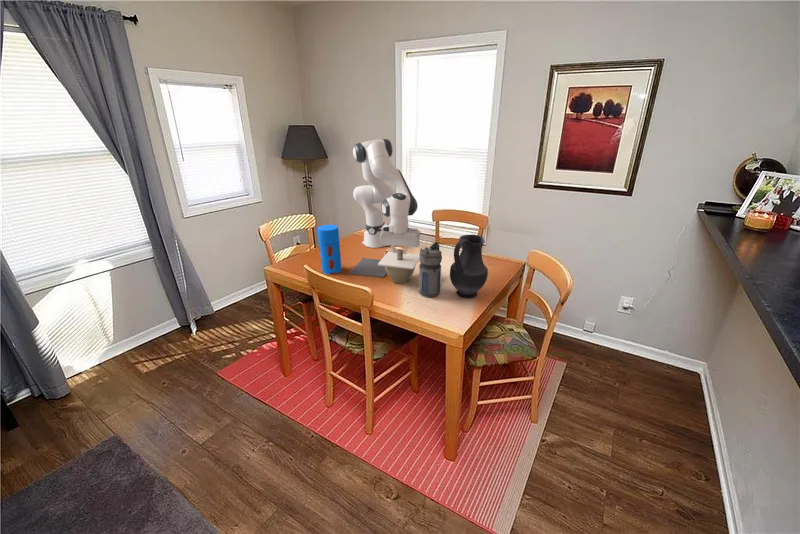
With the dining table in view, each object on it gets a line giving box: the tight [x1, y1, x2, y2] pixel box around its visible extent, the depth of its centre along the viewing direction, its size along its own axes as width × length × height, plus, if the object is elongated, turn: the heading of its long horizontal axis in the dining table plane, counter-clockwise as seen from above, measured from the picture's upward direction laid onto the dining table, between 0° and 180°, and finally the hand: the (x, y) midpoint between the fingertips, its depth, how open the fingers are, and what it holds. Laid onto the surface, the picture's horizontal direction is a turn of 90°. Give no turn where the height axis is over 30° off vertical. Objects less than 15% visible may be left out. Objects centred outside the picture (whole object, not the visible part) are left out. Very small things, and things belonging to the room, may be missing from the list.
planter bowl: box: [385, 266, 416, 284], centre depth 179 cm, size 16×16×11 cm
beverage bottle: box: [418, 241, 443, 298], centre depth 163 cm, size 10×13×25 cm
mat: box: [348, 257, 388, 279], centre depth 196 cm, size 22×20×1 cm
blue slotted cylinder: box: [317, 224, 342, 275], centre depth 188 cm, size 11×11×25 cm
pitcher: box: [449, 234, 489, 300], centre depth 159 cm, size 17×21×30 cm
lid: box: [378, 248, 420, 270], centre depth 176 cm, size 18×18×6 cm
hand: (399, 253), depth 175 cm, fingers open, 4 cm apart
